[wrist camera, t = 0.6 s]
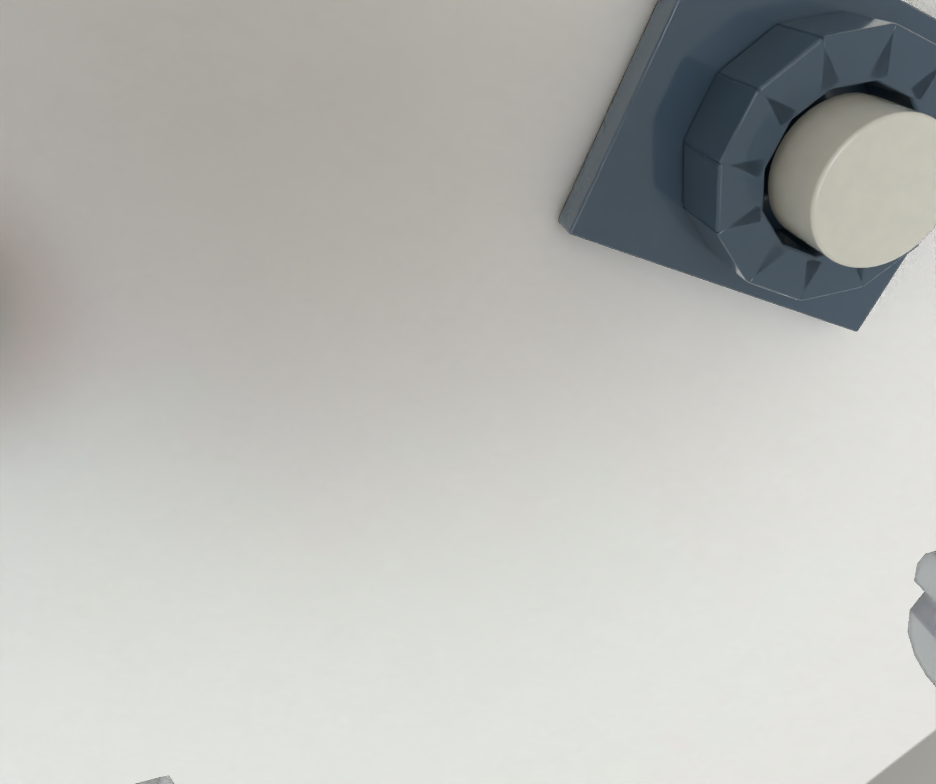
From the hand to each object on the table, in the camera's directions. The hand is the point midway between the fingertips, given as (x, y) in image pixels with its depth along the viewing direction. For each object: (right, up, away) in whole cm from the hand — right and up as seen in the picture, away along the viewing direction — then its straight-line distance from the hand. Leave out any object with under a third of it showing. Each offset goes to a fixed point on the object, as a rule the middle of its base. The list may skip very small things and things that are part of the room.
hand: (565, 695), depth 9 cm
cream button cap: (+8, +9, +12) cm, 17 cm away
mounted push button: (+7, +10, +14) cm, 19 cm away
